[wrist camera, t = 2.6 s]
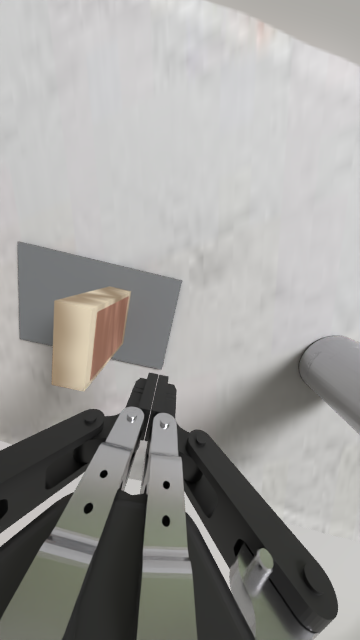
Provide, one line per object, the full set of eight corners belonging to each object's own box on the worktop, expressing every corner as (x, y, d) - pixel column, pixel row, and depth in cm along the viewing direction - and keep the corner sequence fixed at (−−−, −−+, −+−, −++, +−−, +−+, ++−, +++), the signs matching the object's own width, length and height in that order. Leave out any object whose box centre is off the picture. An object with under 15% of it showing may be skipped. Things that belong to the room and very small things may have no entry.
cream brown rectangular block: (131, 291, 25) (92, 309, 14) (123, 343, 27) (84, 391, 17) (109, 286, 25) (54, 300, 14) (103, 339, 27) (51, 384, 17)
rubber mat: (182, 280, 25) (182, 280, 24) (161, 367, 29) (161, 369, 28) (20, 241, 24) (17, 241, 24) (22, 337, 28) (19, 338, 28)
